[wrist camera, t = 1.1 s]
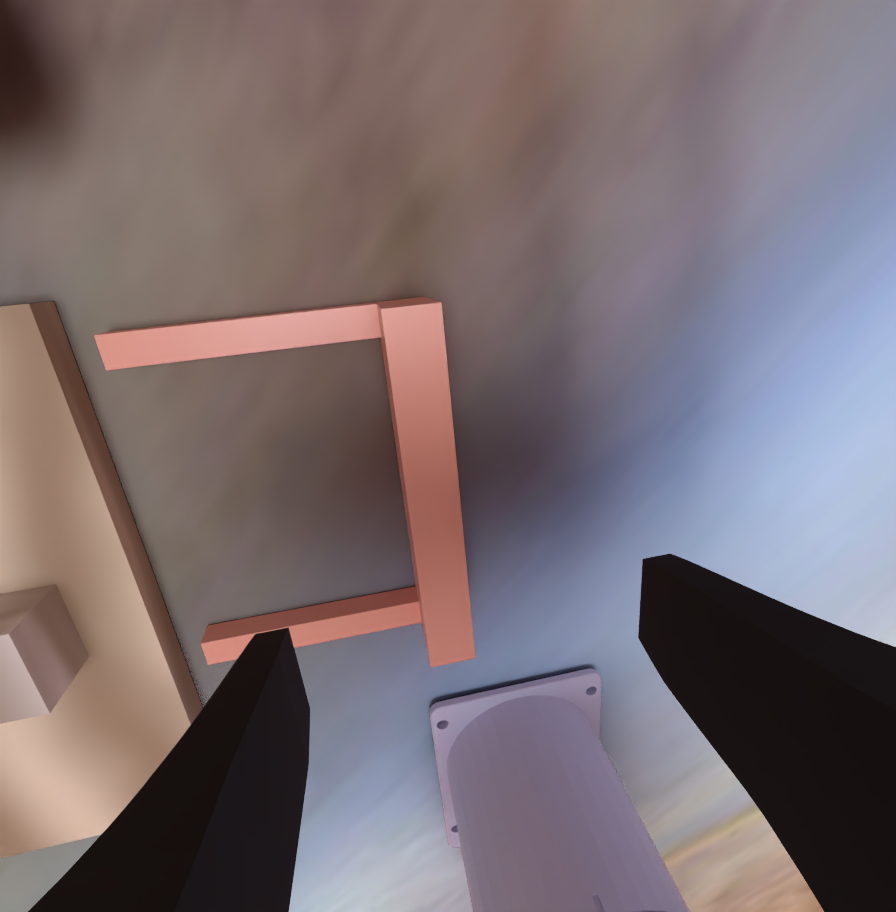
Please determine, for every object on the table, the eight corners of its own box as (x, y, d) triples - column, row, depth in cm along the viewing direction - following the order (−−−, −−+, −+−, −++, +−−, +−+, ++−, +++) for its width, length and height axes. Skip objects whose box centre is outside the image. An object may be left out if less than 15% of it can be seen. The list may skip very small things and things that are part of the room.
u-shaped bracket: (424, 296, 16) (441, 302, 13) (456, 599, 21) (475, 658, 17) (109, 331, 15) (45, 347, 12) (215, 646, 19) (188, 718, 16)
